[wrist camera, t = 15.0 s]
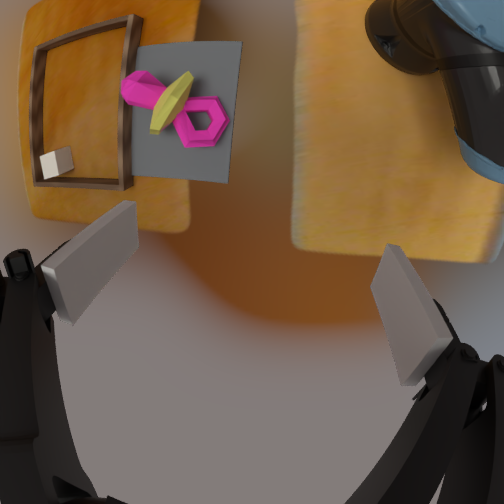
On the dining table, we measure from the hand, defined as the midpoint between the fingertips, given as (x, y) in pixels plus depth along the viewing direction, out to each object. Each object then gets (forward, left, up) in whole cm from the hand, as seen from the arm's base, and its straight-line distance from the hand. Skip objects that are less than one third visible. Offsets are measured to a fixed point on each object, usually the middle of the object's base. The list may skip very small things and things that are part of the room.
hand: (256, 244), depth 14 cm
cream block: (+4, -43, -32) cm, 54 cm away
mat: (-5, -16, -32) cm, 36 cm away
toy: (-6, -16, -32) cm, 36 cm away
